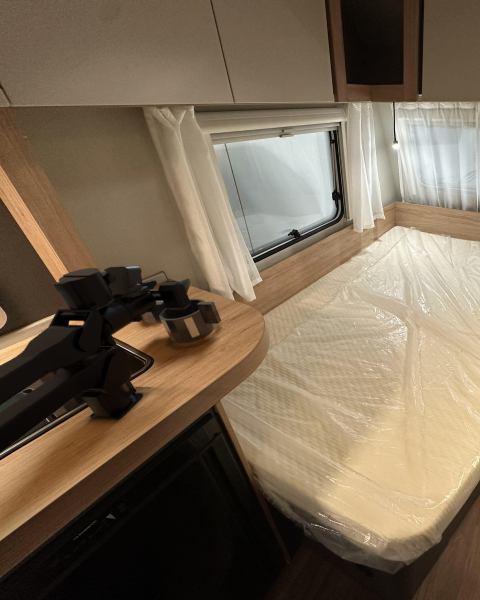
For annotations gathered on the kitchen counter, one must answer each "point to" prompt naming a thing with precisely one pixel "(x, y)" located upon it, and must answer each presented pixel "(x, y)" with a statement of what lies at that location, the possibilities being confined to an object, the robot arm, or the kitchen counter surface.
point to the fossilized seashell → (149, 317)
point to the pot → (188, 320)
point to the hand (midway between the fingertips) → (172, 281)
